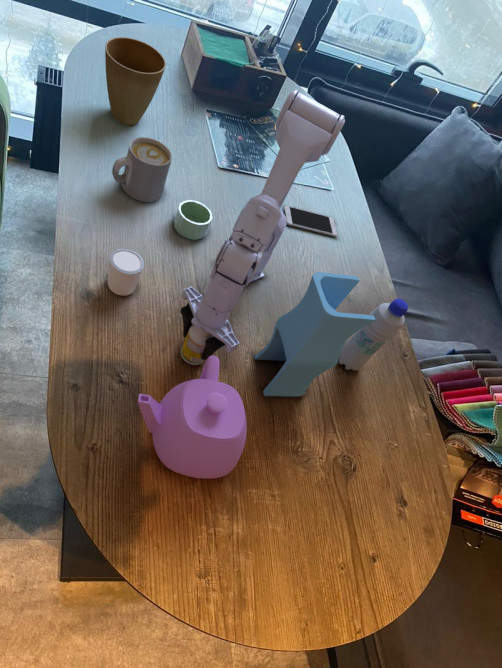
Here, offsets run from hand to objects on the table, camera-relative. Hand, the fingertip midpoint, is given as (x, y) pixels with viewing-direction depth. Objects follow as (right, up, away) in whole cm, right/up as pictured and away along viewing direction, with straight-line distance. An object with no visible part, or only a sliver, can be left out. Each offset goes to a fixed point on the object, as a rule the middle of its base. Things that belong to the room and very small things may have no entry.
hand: (196, 345), depth 99 cm
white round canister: (-16, +13, +6) cm, 21 cm away
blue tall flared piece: (+17, -6, +7) cm, 19 cm away
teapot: (-3, -17, -8) cm, 19 cm away
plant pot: (-20, +65, +37) cm, 78 cm away
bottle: (+34, -2, +15) cm, 37 cm away
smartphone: (+30, +38, +38) cm, 61 cm away
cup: (-2, +31, +22) cm, 38 cm away
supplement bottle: (-1, -2, +3) cm, 3 cm away
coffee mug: (-15, +41, +24) cm, 49 cm away
